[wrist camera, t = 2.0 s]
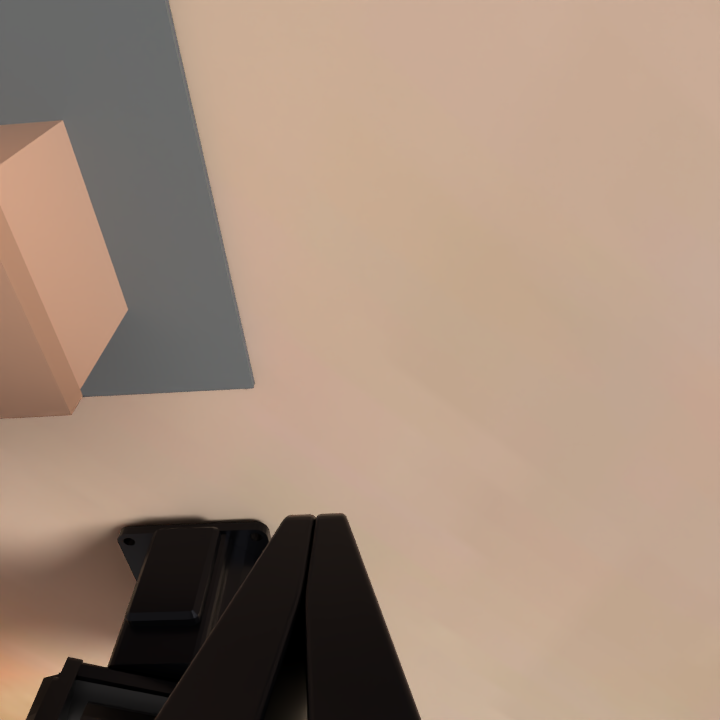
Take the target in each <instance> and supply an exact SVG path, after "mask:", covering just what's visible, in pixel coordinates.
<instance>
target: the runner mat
mask: <svg viewBox="0 0 720 720" xmlns="http://www.w3.org/2000/svg"><path fill="white" fill-rule="evenodd" d="M58 120H63V122H64V125H65V128H66V131H67V134H68V137H69V140H70V142H71V145H72V148H73V151H74V154H75V157H76V160H77V163H78V166H79V169H80V171H81V174H82V177H83V180H84V183H85V186H86V189H87V192H88V195H89V198H90V200H91V203H92V206H93V209H94V212H95V215H96V218H97V221H98V224H99V227H100V229H101V232H102V235H103V238H104V241H105V244H106V247H107V250H108V253H109V256H110V258H111V261H112V264H113V267H114V270H115V273H116V276H117V279H118V282H119V285H120V287H121V290H122V293H123V296H124V299H125V302H126V305H127V308H128V311H127V313H126V314H125V316H124V318H123V319H122V321H121V322H120V324H119V326H118V327H117V329H116V331H115V332H114V334H113V336H112V337H111V339H110V341H109V342H108V344H107V346H106V347H105V349H104V351H103V352H102V354H101V356H100V357H99V359H98V361H97V362H96V364H95V366H94V367H93V369H92V371H91V372H90V374H89V376H88V377H87V379H86V381H85V382H84V384H83V386H82V387H81V389H80V390H81V393H82V395H83V396H82V397H92V396H112V395H132V394H151V393H171V392H190V391H210V390H230V389H249V388H254V384H255V382H254V378H253V373H252V369H251V364H250V360H249V355H248V351H247V347H246V342H245V338H244V333H243V329H242V324H241V320H240V316H239V311H238V307H237V302H236V298H235V293H234V289H233V285H232V280H231V276H230V271H229V267H228V262H227V258H226V254H225V249H224V245H223V240H222V236H221V231H220V227H219V223H218V218H217V214H216V209H215V205H214V201H213V196H212V192H211V187H210V183H209V178H208V174H207V170H206V165H205V161H204V156H203V152H202V147H201V143H200V139H199V134H198V130H197V125H196V121H195V116H194V112H193V108H192V103H191V99H190V94H189V90H188V85H187V81H186V77H185V72H184V68H183V63H182V59H181V54H180V50H179V46H178V41H177V37H176V32H175V28H174V23H173V19H172V15H171V10H170V6H169V1H168V0H0V125H8V124H21V123H33V122H46V121H58Z"/></svg>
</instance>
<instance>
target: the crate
mask: <svg viewBox="0 0 720 720" xmlns="http://www.w3.org/2000/svg"><path fill="white" fill-rule="evenodd" d="M127 311H128V308H127V305H126V302H125V299H124V296H123V293H122V290H121V287H120V285H119V282H118V279H117V276H116V273H115V270H114V267H113V264H112V261H111V258H110V256H109V253H108V250H107V247H106V244H105V241H104V238H103V235H102V232H101V229H100V227H99V224H98V221H97V218H96V215H95V212H94V209H93V206H92V203H91V200H90V198H89V195H88V192H87V189H86V186H85V183H84V180H83V177H82V174H81V171H80V169H79V166H78V163H77V160H76V157H75V154H74V151H73V148H72V145H71V142H70V140H69V137H68V134H67V131H66V128H65V125H64V122H63V120H58V121H46V122H33V123H21V124H8V125H0V419H2V418H22V417H43V416H63V415H72V413H73V412H74V410H75V408H76V406H77V405H78V403H79V401H80V400H81V398H82V396H83V395H82V393H81V390H80V389H81V387H82V386H83V384H84V382H85V381H86V379H87V377H88V376H89V374H90V372H91V371H92V369H93V367H94V366H95V364H96V362H97V361H98V359H99V357H100V356H101V354H102V352H103V351H104V349H105V347H106V346H107V344H108V342H109V341H110V339H111V337H112V336H113V334H114V332H115V331H116V329H117V327H118V326H119V324H120V322H121V321H122V319H123V318H124V316H125V314H126V313H127Z"/></svg>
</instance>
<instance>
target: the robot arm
mask: <svg viewBox="0 0 720 720" xmlns="http://www.w3.org/2000/svg"><path fill="white" fill-rule="evenodd" d="M118 543H119V545H120V547H121V549H122V551H123V554H124V556H125V558H126V560H127V562H128V564H129V566H130V568H131V570H132V573H133V575H134V577H135V579H136V581H137V583H136V585H135V588H134V591H133V594H132V597H131V600H130V603H129V605H128V608H127V611H126V615H125V618H124V621H123V624H122V627H121V629H120V632H119V635H118V638H117V641H116V644H115V647H114V649H113V652H112V655H111V658H110V661H109V664H108V667H102V666H97V665H92V664H87V663H83V660H81V659H76V658H71V657H68V658H67V660H66V662H65V665H64V667H63V669H62V671H61V673H60V672H59V674H58V675H54V676H50V677H46V678H44V679H43V681H42V684H41V686H40V688H39V691H38V693H37V695H36V698H35V700H34V702H33V705H32V707H31V709H30V712H29V714H28V716H27V718H26V720H421V718H420V715H419V712H418V710H417V707H416V704H415V701H414V699H413V696H412V693H411V691H410V688H409V685H408V682H407V680H406V677H405V674H404V672H403V669H402V666H401V663H400V661H399V658H398V655H397V653H396V650H395V647H394V644H393V642H392V639H391V636H390V634H389V631H388V628H387V625H386V623H385V620H384V617H383V615H382V612H381V609H380V606H379V604H378V601H377V598H376V596H375V593H374V590H373V587H372V585H371V582H370V579H369V577H368V574H367V571H366V568H365V566H364V563H363V560H362V558H361V555H360V552H359V549H358V547H357V544H356V541H355V539H354V536H353V533H352V530H351V528H350V525H349V522H348V520H347V517H346V516H345V515H344V514H343V513H332V514H320V515H318V516H317V517H315V516H314V515H311V514H306V515H289V516H287V517H286V518H285V519H284V520H283V521H282V523H281V524H280V526H279V527H278V529H277V530H276V532H275V534H274V535H273V537H272V538H271V536H270V532H269V528H268V527H267V526H266V525H265V524H263V523H260V522H240V523H213V524H186V525H160V526H133V527H125V528H123V529H122V530H121V532H120V534H119V537H118Z"/></svg>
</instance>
